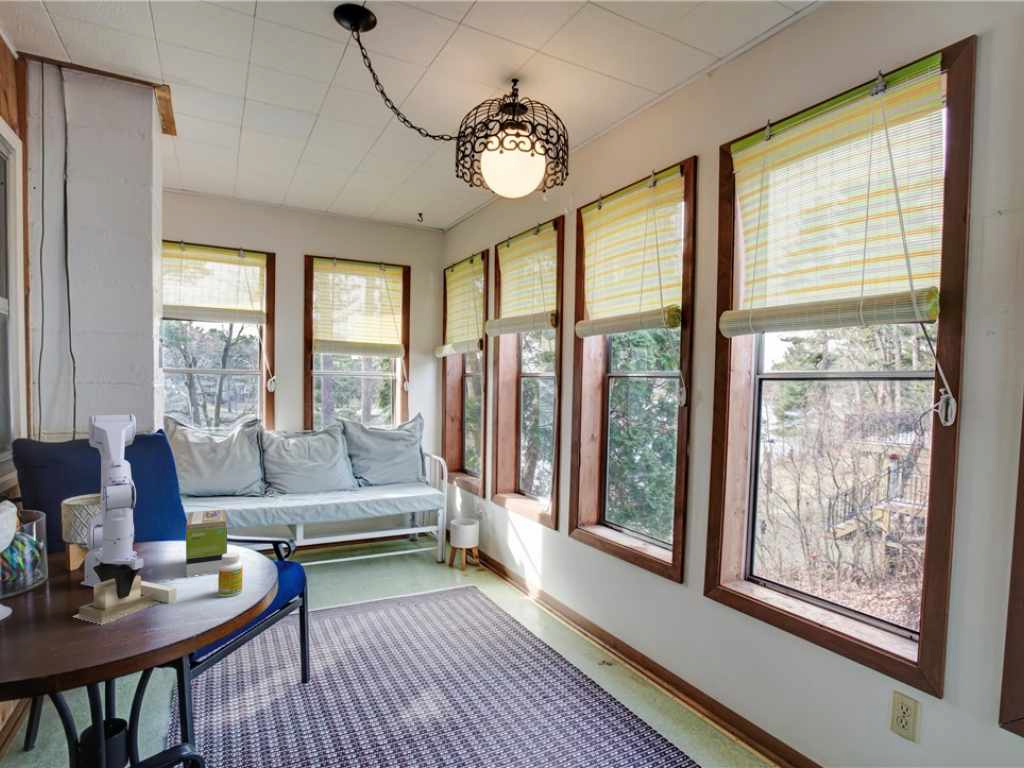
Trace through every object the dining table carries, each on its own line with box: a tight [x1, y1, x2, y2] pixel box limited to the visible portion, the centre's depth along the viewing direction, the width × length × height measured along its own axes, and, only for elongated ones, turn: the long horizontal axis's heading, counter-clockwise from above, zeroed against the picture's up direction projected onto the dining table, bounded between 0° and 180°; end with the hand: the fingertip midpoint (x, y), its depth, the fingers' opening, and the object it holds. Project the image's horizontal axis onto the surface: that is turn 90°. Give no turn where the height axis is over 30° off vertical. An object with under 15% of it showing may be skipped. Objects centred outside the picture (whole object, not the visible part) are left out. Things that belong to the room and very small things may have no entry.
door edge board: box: [141, 580, 177, 604], centre depth 139 cm, size 20×2×3 cm, turn 69°
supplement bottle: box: [217, 552, 244, 598], centre depth 141 cm, size 5×5×10 cm
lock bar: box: [93, 574, 142, 610], centre depth 130 cm, size 4×8×5 cm, turn 159°
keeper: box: [71, 592, 160, 626], centre depth 130 cm, size 10×13×2 cm
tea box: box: [185, 508, 228, 577], centre depth 161 cm, size 15×10×15 cm, turn 27°
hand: (117, 595), depth 130 cm, fingers closed on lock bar, 4 cm apart
